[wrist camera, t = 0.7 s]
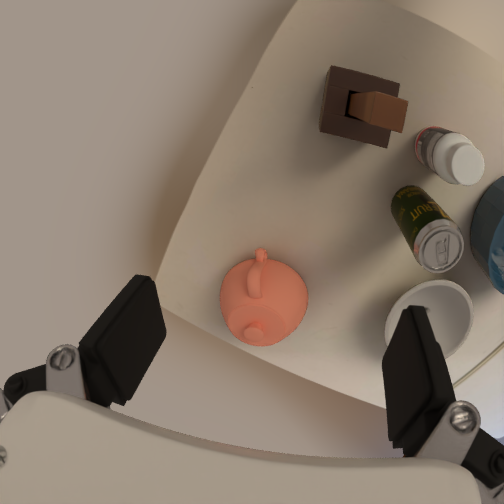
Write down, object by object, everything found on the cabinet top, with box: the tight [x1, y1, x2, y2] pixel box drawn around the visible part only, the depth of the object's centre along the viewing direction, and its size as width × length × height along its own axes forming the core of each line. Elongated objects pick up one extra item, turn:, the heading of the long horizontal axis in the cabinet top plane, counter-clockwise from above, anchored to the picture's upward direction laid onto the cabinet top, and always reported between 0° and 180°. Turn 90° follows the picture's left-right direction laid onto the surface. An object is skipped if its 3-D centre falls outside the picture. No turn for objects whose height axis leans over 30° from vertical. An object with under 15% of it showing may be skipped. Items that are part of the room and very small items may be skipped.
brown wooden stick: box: [345, 91, 408, 133], centre depth 22 cm, size 2×2×18 cm
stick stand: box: [319, 65, 400, 148], centre depth 26 cm, size 7×7×7 cm
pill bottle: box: [415, 126, 484, 186], centre depth 25 cm, size 5×5×10 cm
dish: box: [384, 280, 474, 359], centre depth 38 cm, size 18×14×5 cm
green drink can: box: [391, 186, 464, 273], centre depth 28 cm, size 5×5×12 cm
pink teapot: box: [220, 248, 308, 346], centre depth 39 cm, size 12×14×10 cm
